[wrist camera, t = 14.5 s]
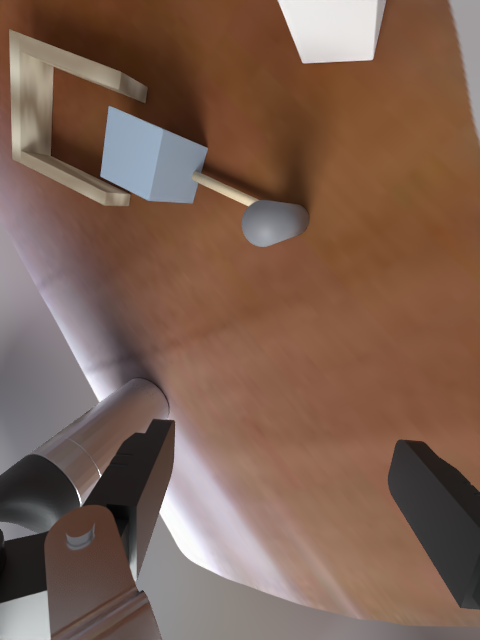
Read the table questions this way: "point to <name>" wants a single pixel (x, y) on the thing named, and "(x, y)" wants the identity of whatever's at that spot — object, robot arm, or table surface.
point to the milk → (334, 28)
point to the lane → (36, 111)
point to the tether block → (185, 176)
